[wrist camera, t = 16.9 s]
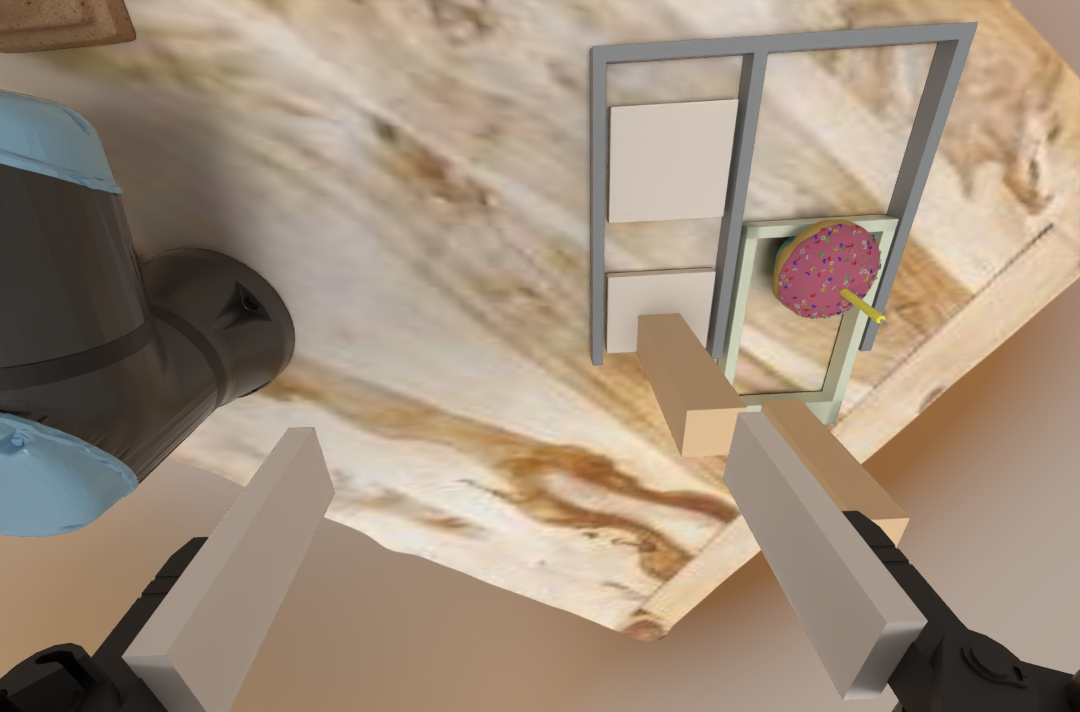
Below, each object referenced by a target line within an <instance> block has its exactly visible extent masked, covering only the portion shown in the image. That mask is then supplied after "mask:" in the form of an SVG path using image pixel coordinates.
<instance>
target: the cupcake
mask: <svg viewBox="0 0 1080 712" xmlns="http://www.w3.org/2000/svg"><path fill="white" fill-rule="evenodd" d="M874 237H875V236H874V235H873V234H872V235H871V234H870V233H869V232H868V231H866V230H865V229H864V228H863V227H861V226H859V225H857V224H855V223H853V222H850V221H848V220H842V219H840V220H823V221H819V222H817V223H815V224H813V225H811V226H810V227H808V228H807V229H806V230H804V231H803V232H801V233H800V234H799V235H798V236H792V237H790V238H789V239H788V240H786V241H785V242H784V243H783V244H782V246H781V247H780V249H779V250H778V252H777V255H776V258H775V267H774V276H773V293H774V295H775V297H776V298H777V299H778V300H779V301H780V302H781V303H782V304H783V305H785V306H786V307H787V308H789V309H790V310H792V311H794V312H795V313H796V314H797V315H798V316H802V317H807V318H811V319H813V318H824V319H825V317H827V318H830V317H831V316H833V315H836V314H838V315H839V314H840V313H841V314H844V313H845V312H846V311H845V310H849V309H851V308H853V306H856V307H857V308H858V309H860V310H861V311H862V312H864V313H865V314H866V315H868V316H869V317H870V318H871V319H873V320H874V321H875V322H877V323H881V322H882V323H883V324H884V325H885V326H886V327H887V328H889V327H890V325H889V324H888V323H886V322H885V321H884V320H885V316H883V315H882V314H881V313H879V312H878V311H877V310H875V309H874V308H873V307H871V306H870V305H869V304H867V303H866V302H864V301H863V297H865V296H866V295H867V293H868V292H869V290H870V289H871V286H872V285H873V283H874V281H875V280H876V279H877V278H878V277H877V274H878V270H880V269H881V260H880V255H881V253H882V251H879V246H878V243H877V242H876V241H877V240H876V239H875V238H874ZM880 252H881V253H880ZM879 268H880V269H879ZM876 277H877V278H876Z"/></svg>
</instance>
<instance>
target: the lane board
mask: <svg viewBox="0 0 1080 712" xmlns="http://www.w3.org/2000/svg"><path fill="white" fill-rule="evenodd" d="M977 25H978V22H967V23H951V24H936V25H920V26H905V27H889V28H874V29H858V30H842V31H827V32H811V33H796V34H780V35H765V36H749V37H734V38H718V39H703V40H687V41H671V42H656V43H640V44H625V45H609V46H594V47H592V48H591V49H590V273H591V360H592V364H593V366H594V365H603V301H604V217H605V133H606V64H613V63H628V62H644V61H660V60H676V59H691V58H707V57H723V56H738V55H744V57H743V65H742V72H741V80H740V88H739V95H738V99H739V100H738V108H737V115H736V123H735V130H734V138H733V145H732V153H731V161H730V168H729V176H728V183H727V191H726V198H725V206H724V213H723V217H722V224H721V232H720V239H719V247H718V255H717V262H716V270H715V271H716V274H715V281H714V289H713V297H712V304H711V312H710V319H709V327H708V334H707V342H706V348H705V349H706V350H707V352H708V353H709V355H710V356H711V357H712V359H721V358H722V351H723V345H724V338H725V332H726V325H727V319H728V312H729V305H730V299H731V292H732V286H733V279H734V273H735V266H736V260H737V253H738V247H739V240H740V233H741V227H742V220H743V214H744V207H745V201H746V194H747V188H748V181H749V175H750V168H751V161H752V155H753V148H754V142H755V135H756V129H757V122H758V116H759V109H760V102H761V96H762V89H763V83H764V76H765V70H766V63H767V57H768V54H770V53H785V52H801V51H817V50H832V49H848V48H864V47H879V46H895V45H911V44H927V43H938V45H937V48H936V52H935V55H934V58H933V62H932V65H931V68H930V72H929V75H928V78H927V82H926V85H925V88H924V92H923V95H922V99H921V102H920V105H919V109H918V112H917V115H916V119H915V122H914V125H913V129H912V132H911V135H910V139H909V142H908V145H907V149H906V152H905V156H904V159H903V162H902V166H901V169H900V172H899V176H898V179H897V182H896V186H895V189H894V192H893V196H892V199H891V202H890V206H889V209H888V213H887V216H891V217H894V218H897V219H899V220H898V223H897V226H896V229H895V232H894V236H893V239H892V242H891V245H890V248H889V252H888V255H887V258H886V261H885V265H884V268H883V271H882V274H881V277H880V281H879V284H878V287H877V290H876V293H875V297H874V300H873V303H872V306H871V307H873V308H874V309H875V310H877V311H878V312H879V313H881V314H882V315H883V312H884V309H885V306H886V303H887V300H888V297H889V294H890V291H891V288H892V285H893V282H894V278H895V275H896V272H897V269H898V266H899V263H900V260H901V257H902V254H903V251H904V248H905V245H906V242H907V239H908V236H909V233H910V230H911V227H912V223H913V220H914V217H915V214H916V211H917V208H918V205H919V202H920V199H921V196H922V193H923V190H924V187H925V184H926V181H927V178H928V175H929V171H930V168H931V165H932V162H933V159H934V156H935V153H936V150H937V147H938V144H939V141H940V138H941V135H942V132H943V129H944V126H945V123H946V120H947V116H948V113H949V110H950V107H951V104H952V101H953V98H954V95H955V92H956V89H957V86H958V83H959V80H960V77H961V74H962V71H963V68H964V64H965V61H966V58H967V55H968V52H969V49H970V46H971V43H972V40H973V37H974V34H975V31H976V28H977ZM879 324H880V323H877V322H875V321H874V320H873V319H871V318H870V317H869V316H868V319H867V322H866V326H865V329H864V332H863V335H862V338H861V342H860V345H859V348H858V349H859V350H860V351H870V350H871V349H872V346H873V343H874V340H875V337H876V334H877V330H878V327H879Z"/></svg>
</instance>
